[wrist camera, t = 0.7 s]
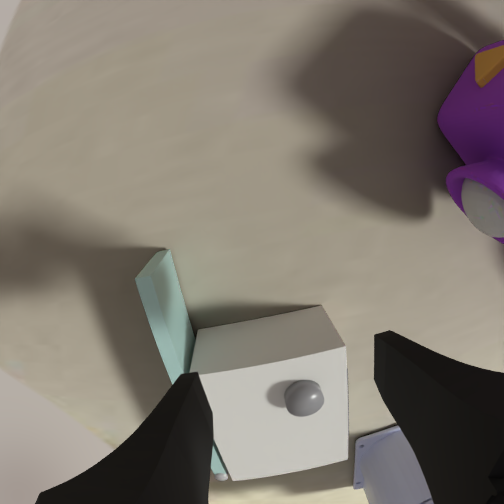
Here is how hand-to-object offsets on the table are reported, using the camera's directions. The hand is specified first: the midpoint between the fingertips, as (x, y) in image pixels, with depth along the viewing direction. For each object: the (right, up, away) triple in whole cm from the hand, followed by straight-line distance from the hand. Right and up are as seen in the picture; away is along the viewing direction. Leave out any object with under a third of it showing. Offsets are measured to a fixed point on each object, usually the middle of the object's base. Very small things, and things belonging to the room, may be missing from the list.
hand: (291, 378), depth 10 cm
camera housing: (0, -5, +11) cm, 12 cm away
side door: (-5, -3, +10) cm, 12 cm away
